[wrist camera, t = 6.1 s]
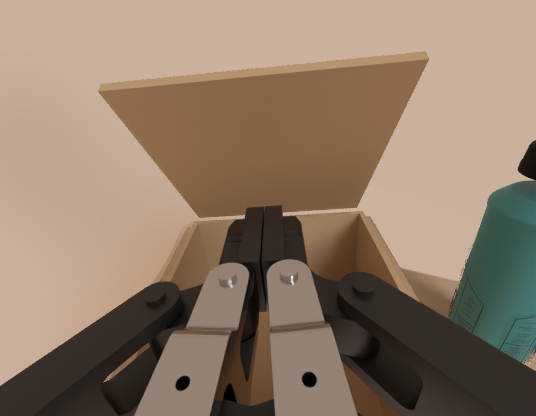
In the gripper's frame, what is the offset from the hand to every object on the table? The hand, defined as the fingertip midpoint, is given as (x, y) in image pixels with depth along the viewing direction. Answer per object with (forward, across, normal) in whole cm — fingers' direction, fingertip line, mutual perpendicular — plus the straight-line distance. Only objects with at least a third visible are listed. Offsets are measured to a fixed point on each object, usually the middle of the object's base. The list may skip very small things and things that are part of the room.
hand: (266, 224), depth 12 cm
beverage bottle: (+7, -19, +20) cm, 29 cm away
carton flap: (+8, 0, +1) cm, 8 cm away
